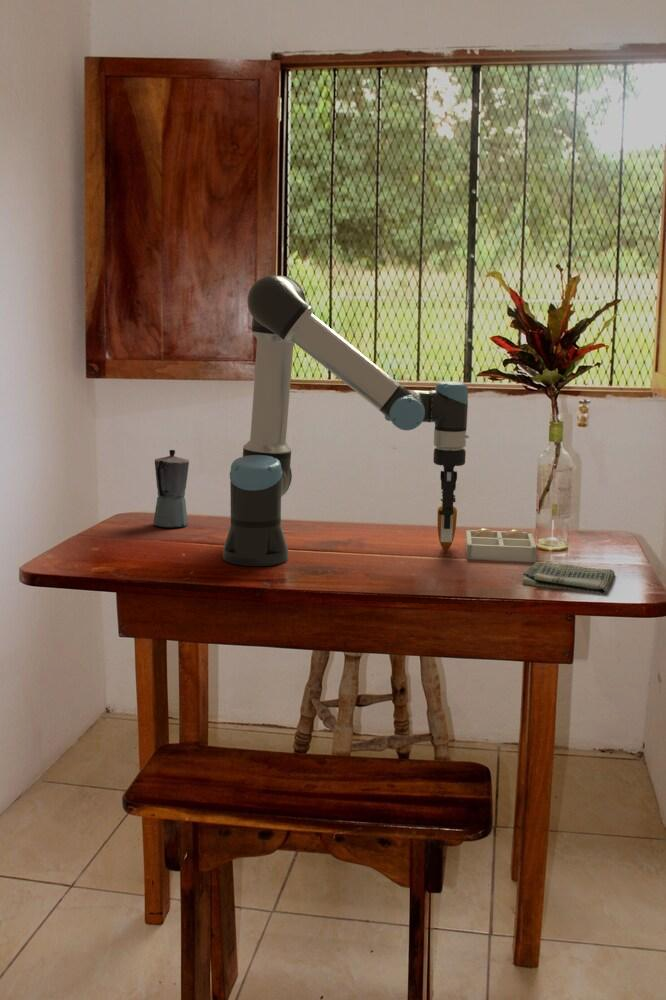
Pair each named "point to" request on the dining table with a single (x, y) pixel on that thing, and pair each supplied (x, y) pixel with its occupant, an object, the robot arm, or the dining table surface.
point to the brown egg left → (484, 533)
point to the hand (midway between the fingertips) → (446, 535)
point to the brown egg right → (515, 534)
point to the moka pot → (171, 491)
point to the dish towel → (569, 577)
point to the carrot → (444, 544)
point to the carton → (500, 547)
